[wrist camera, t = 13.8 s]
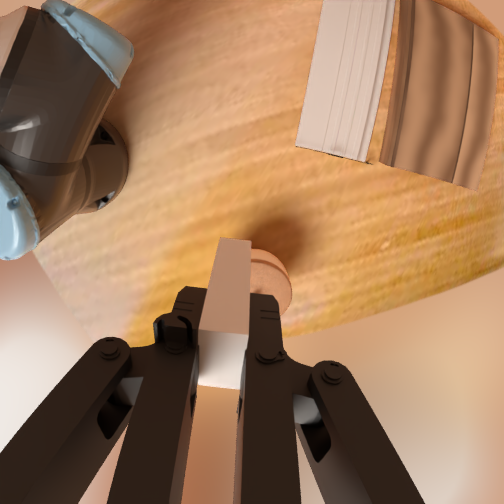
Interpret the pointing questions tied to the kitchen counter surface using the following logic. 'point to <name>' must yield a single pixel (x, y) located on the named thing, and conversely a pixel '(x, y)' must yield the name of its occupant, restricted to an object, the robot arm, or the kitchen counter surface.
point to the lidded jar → (270, 278)
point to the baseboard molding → (346, 77)
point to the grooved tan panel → (441, 95)
